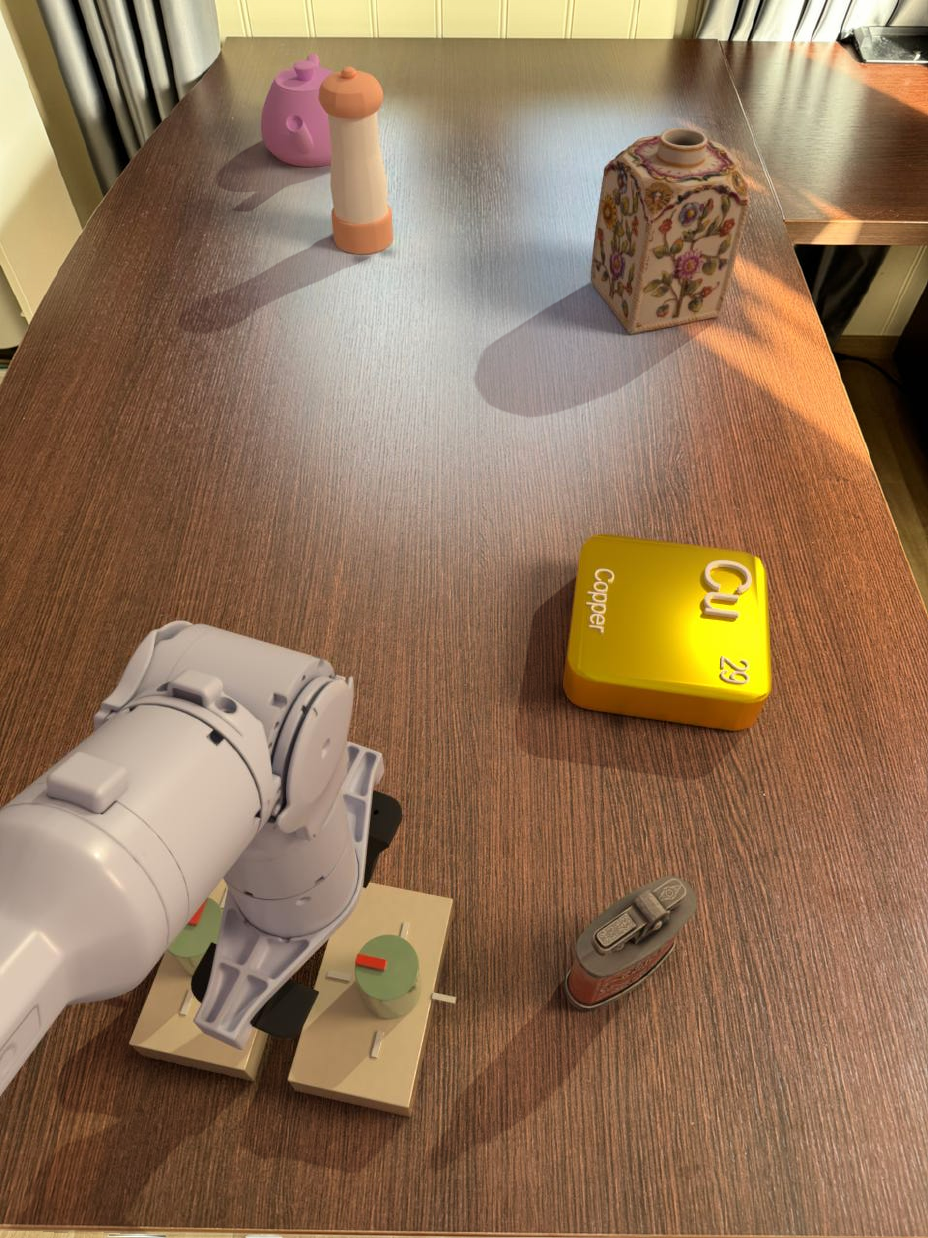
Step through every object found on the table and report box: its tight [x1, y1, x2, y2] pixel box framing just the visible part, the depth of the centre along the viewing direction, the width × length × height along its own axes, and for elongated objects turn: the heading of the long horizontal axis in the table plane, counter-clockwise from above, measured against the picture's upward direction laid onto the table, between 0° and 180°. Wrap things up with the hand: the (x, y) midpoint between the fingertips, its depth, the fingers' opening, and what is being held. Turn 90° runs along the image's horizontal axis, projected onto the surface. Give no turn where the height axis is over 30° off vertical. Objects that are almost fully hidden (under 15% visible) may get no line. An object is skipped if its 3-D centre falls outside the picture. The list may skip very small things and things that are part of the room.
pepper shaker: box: [318, 66, 394, 255], centre depth 103 cm, size 7×7×19 cm
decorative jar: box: [589, 127, 751, 335], centre depth 95 cm, size 12×12×18 cm
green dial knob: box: [167, 897, 223, 976], centre depth 53 cm, size 4×4×4 cm
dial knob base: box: [287, 881, 457, 1118], centre depth 54 cm, size 12×8×3 cm
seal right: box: [355, 935, 422, 1019], centre depth 51 cm, size 4×4×4 cm
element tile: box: [562, 533, 773, 732], centre depth 71 cm, size 15×15×5 cm
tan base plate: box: [128, 878, 270, 1082], centre depth 56 cm, size 12×8×3 cm
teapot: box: [260, 53, 335, 168], centre depth 120 cm, size 14×20×11 cm
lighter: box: [563, 875, 698, 1013], centre depth 53 cm, size 8×3×10 cm, turn 123°
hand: (321, 940), depth 48 cm, fingers open, 7 cm apart
